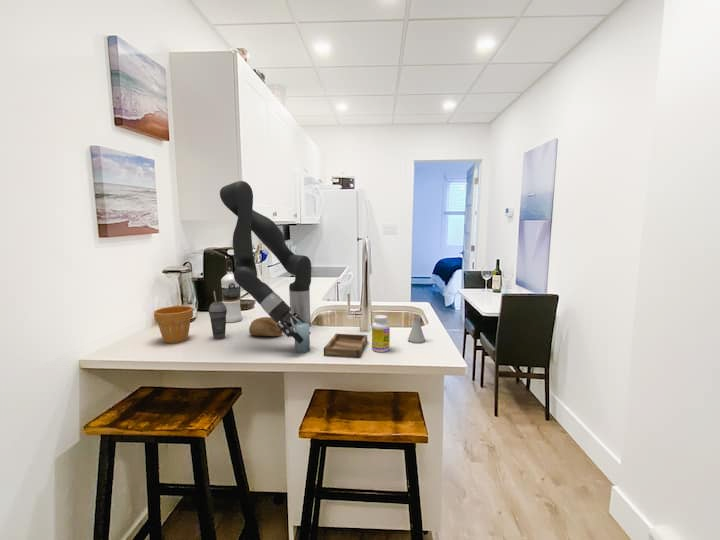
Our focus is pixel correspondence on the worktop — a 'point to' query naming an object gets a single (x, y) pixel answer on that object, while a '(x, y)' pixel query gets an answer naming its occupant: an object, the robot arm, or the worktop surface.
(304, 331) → the blue rounded capsule
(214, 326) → the beverage cup
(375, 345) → the supplement bottle
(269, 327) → the bread roll
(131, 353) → the worktop surface
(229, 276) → the vodka
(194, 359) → the worktop surface
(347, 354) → the tray
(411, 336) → the flask
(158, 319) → the flower pot
